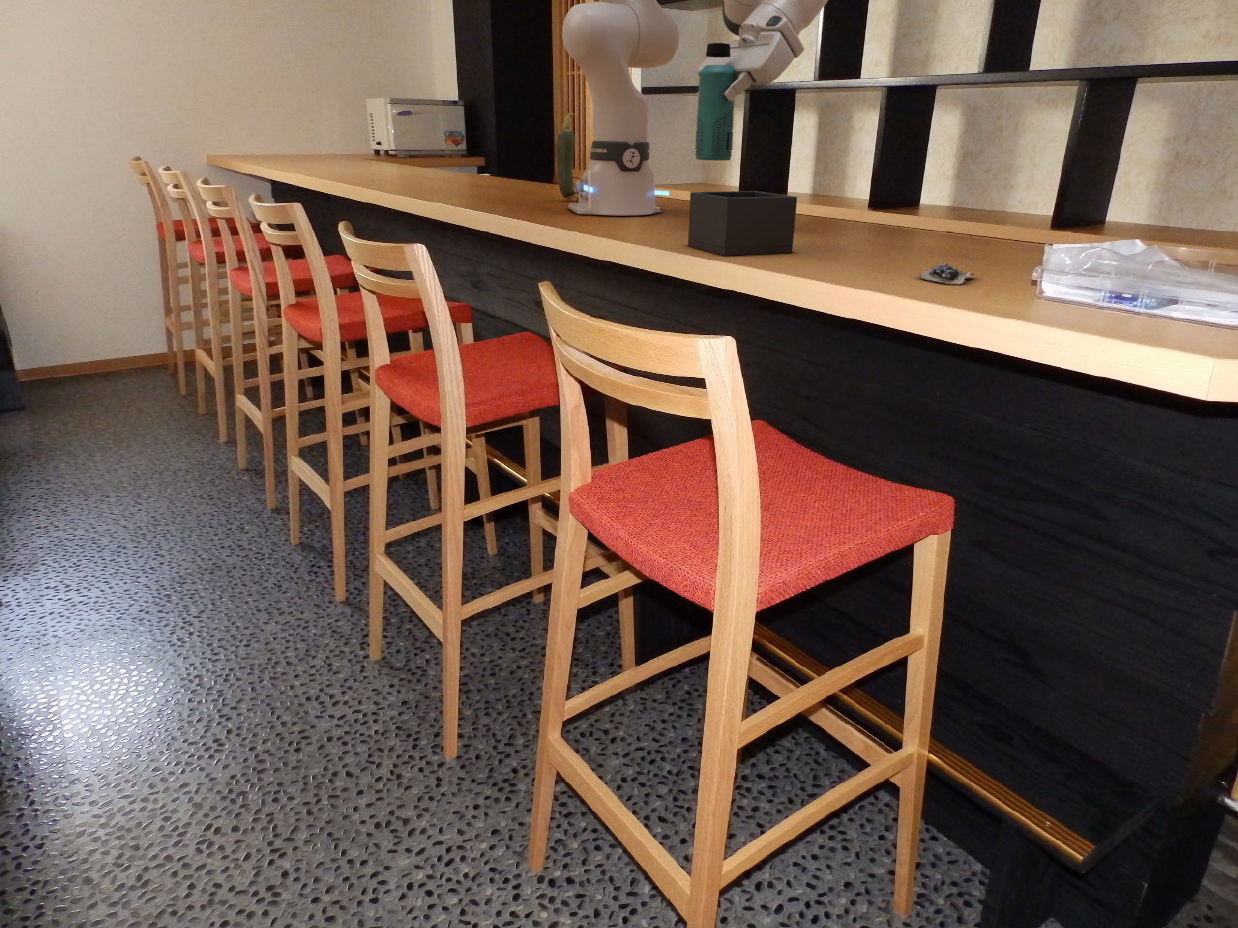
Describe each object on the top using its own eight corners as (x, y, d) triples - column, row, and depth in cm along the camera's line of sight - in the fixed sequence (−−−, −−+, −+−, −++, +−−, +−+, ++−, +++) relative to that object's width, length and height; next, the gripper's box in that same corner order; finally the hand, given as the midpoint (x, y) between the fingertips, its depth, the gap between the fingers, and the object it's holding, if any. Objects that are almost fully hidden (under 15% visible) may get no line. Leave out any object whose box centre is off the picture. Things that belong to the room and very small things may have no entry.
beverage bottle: (729, 170, 145) (737, 41, 138) (691, 169, 147) (697, 41, 139) (732, 168, 151) (740, 44, 144) (695, 167, 152) (702, 44, 145)
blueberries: (971, 275, 108) (974, 260, 107) (982, 286, 101) (984, 270, 100) (916, 273, 109) (918, 258, 109) (923, 283, 102) (925, 267, 101)
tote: (687, 245, 131) (690, 192, 128) (752, 243, 135) (755, 191, 132) (724, 256, 121) (727, 198, 118) (792, 252, 125) (797, 197, 122)
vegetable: (555, 202, 202) (554, 111, 194) (559, 200, 206) (558, 112, 198) (573, 202, 201) (573, 112, 194) (577, 201, 205) (577, 112, 198)
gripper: (720, 27, 151) (671, 85, 151) (792, 17, 135) (737, 82, 134) (739, 56, 155) (691, 112, 155) (811, 50, 138) (757, 113, 138)
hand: (713, 98), depth 144 cm, fingers closed on beverage bottle, 6 cm apart
